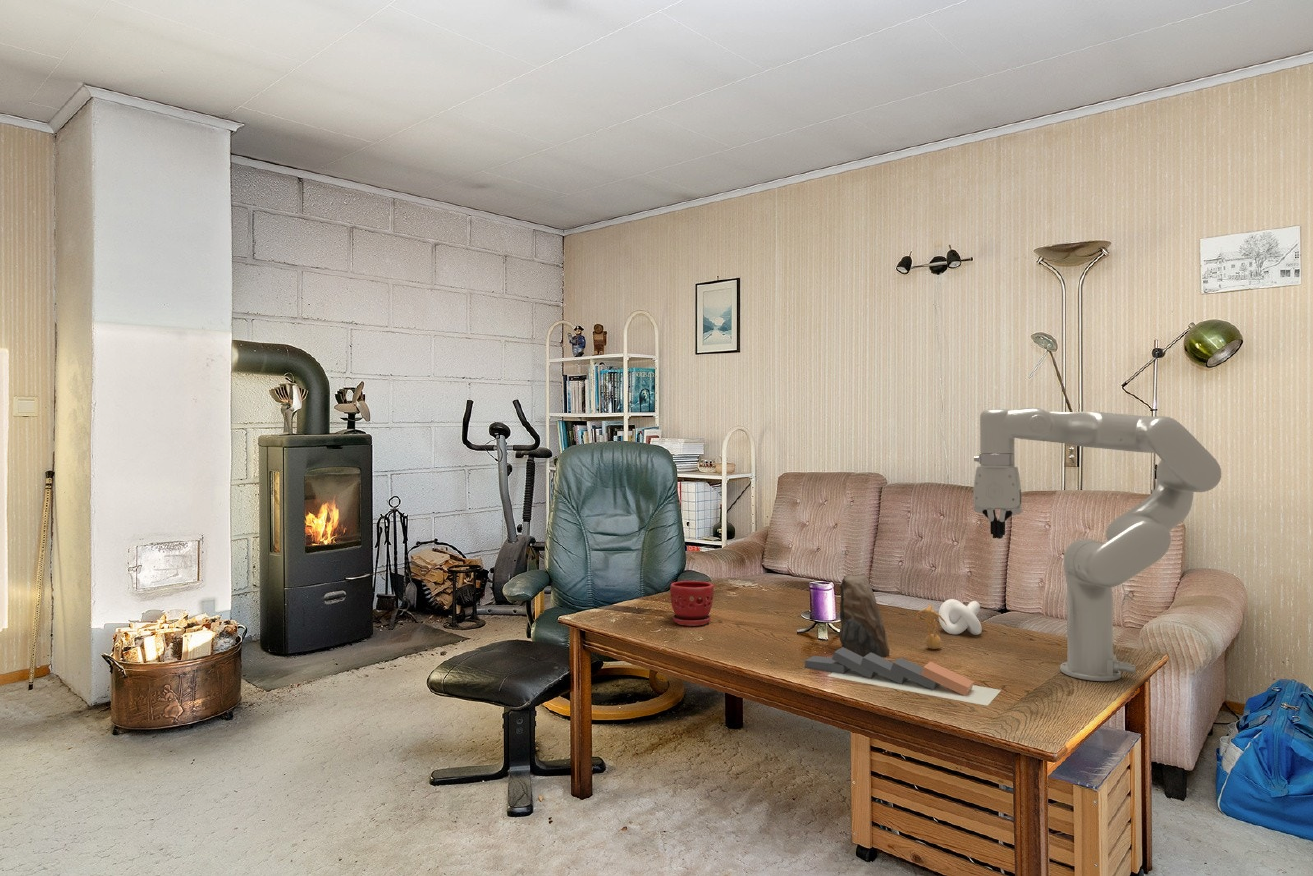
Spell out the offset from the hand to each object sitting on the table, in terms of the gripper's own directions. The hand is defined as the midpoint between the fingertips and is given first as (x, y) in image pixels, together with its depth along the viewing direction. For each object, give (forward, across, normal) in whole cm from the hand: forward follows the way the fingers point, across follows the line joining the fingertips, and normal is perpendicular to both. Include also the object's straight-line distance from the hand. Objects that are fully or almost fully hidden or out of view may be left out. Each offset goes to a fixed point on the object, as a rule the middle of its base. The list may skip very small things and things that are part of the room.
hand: (997, 537), depth 191 cm
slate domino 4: (+31, -8, -21) cm, 38 cm away
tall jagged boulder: (+32, -32, -4) cm, 46 cm away
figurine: (+32, -19, +10) cm, 39 cm away
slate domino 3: (+31, -15, -21) cm, 40 cm away
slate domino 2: (+31, -22, -21) cm, 43 cm away
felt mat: (+32, -14, -21) cm, 41 cm away
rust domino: (+31, -1, -21) cm, 37 cm away
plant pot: (+32, -88, 0) cm, 94 cm away
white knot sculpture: (+32, -18, +32) cm, 49 cm away
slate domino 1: (+31, -29, -21) cm, 47 cm away
